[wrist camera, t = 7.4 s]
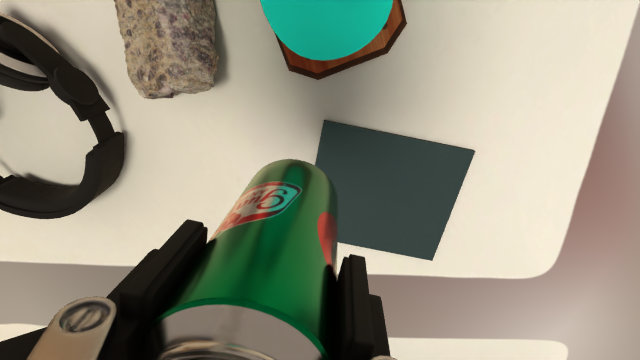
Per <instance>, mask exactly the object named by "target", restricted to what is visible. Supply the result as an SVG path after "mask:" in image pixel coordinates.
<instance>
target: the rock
mask: <svg viewBox="0 0 640 360" xmlns="http://www.w3.org/2000/svg"><path fill="white" fill-rule="evenodd" d="M114 1H115V3H116V4H115V7H116V10H117V17H118V20H119V27H120V33H121V35H122V37H123V39H124V41H125V49H126V50H125V55H126V62H127V70H128V76H129V78H130V80H131V82H132V83H133V85H134V86H135V88H136V89H137V90H138V92H139V94H140V95H141V96H142V97H144V98H148V99H157V98H173V97H174V95H176V94H178V93H187V94H192V93H194V94H195V93H198V92H203V91H208V90H210V89H211V87H213V86H214V82H213V78H214V76H215V74H216V72H217V68H218V67H217V60H218V59H219V57H218V55H217V53H216V51H215V48H214V45H213V44H214V40H215V33H214V28H215V25H214V21H215V17H216V14H215V9H214V5H213V0H114Z"/></svg>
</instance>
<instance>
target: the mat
mask: <svg viewBox="0 0 640 360" xmlns="http://www.w3.org/2000/svg"><path fill="white" fill-rule="evenodd" d="M474 153H475V151H474V150H470V149H465V148H460V147H455V146H451V145H446V144H441V143H436V142H431V141H426V140H421V139H416V138H411V137H406V136H401V135H396V134H391V133H386V132H381V131H376V130H371V129H366V128H361V127H356V126H351V125H346V124H341V123H336V122H332V121H327V120H324V123H323V128H322V133H321V138H320V143H319V148H318V154H317V159H316V164H315V166H316V167H318V168H319V169H320V170H322V171H323V172H324V173H325V174H326V175H327V176H328V177H329V178H330V180H331V181H332V183H333V185H334V187H335V189H336V192H337V196H338V237H337V242H339V243H344V244H350V245H355V246H360V247H365V248H370V249H375V250H380V251H385V252H390V253H396V254H401V255H406V256H411V257H416V258H421V259H426V260H431V261H432V260H433V257H434V255H435V252H436V250H437V247H438V245H439V242H440V240H441V237H442V234H443V232H444V229H445V227H446V224H447V222H448V219H449V217H450V214H451V211H452V209H453V206H454V204H455V201H456V199H457V196H458V194H459V191H460V188H461V186H462V183H463V181H464V178H465V176H466V173H467V171H468V168H469V166H470V163H471V160H472V158H473V155H474Z"/></svg>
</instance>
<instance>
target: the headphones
mask: <svg viewBox="0 0 640 360" xmlns="http://www.w3.org/2000/svg"><path fill="white" fill-rule="evenodd" d="M0 84H1V85H4V86H7V87H10V88H14V89H18V90H23V91H41V90H44V89H47V88H49V87H50V88H51V89H52V91H53V92H54V93H55V95H56V96H57V97H58V98H59V99H61V100H62V101H63V102H65V103H67V104H68V105H70V106H71V108H72V109H73V111H74V112H75V114H76V115H77V117H78V118H79V120H80V121H85V120H88V121H89V123H90V125H91V127H92V129H93V131H94V133H95V135H96V137H97V140H98V144H97V145H95V146H94V147H93V150H91V151H90V152H89V153H88V154H87V155H86V162H85V172H84V176H83V179H82V181H81V183H80V185H79V186H78V187H73V188H58V187H52V186H48V185H44V184H39V183H36V182H33V181H30V180H28V179H25V178H22V177H15V176H14V175H10V176H8V177H6V178H3V177H1V176H0V209H1V210H3V211H6V212H9V213H12V214H15V215H19V216H24V217H30V218H37V219H54V218H61V217H65V216H68V215H71V214H73V213H75V212H77V211H79V210H81V209H82V208H83V207H85V206H86V205H87V204H88V203H90V202H91V201H92V200H93V199H95V198H96V197H97V196H98V195H100V194H101V193H102V192H104V191H105V190H106V189H107V188H108V187H110V186H111V185H112V184H113V183H114V181H115V180H116V179H117V177H118V175H119V173H120V171H121V168H122V165H123V159H124V136H123V133H121V132H114V130H113V127H112V125H111V122H110V121H109V119H108V117H107V115H106V113H105V111H107V110H109V109H110V108H109V107H108V105H107V104H106V103H105V101H104V100H103V99H102V97H101V96H100V95H99V93H98V89H97V87H96V85H95V84H94V82H93V81H92V80H91V79H90V78H89V77H88V76H87V75H86V74H85V73H84V72H82V71H81V70H79V69H77V68H75V67H73V66H72V65H71V64H70V63H69V62H68V61H67V60H66V59H65V58H64V57H62V56H61V55H60V54H59V52H58V51H57V50H56V49H55V47H54V46H53V45H52V44H51V43H50V42H49V41H47V40H46V39H45V38H44V37H43V36H42V35H40V34H39V33H37V32H36V31H35V30H33V29H32V28H30V27H28V26H27V25H25V24H23V23H22V22H20V21H18V20H16V19H14V18H12V17H10V16H8V15H5V14H3V13H1V12H0Z"/></svg>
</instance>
